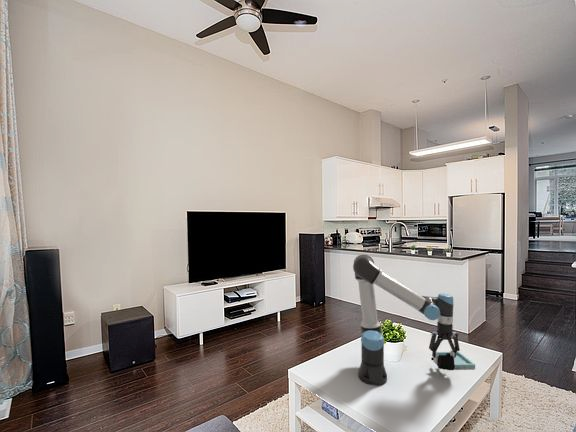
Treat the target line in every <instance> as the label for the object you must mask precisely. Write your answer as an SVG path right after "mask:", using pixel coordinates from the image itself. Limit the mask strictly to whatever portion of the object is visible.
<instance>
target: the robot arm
mask: <svg viewBox="0 0 576 432" xmlns="http://www.w3.org/2000/svg"><path fill="white" fill-rule="evenodd" d="M352 269H353V272H354V279H355V280H356V281H357V282H358V283H357V284H358V290H359V300H360V308H361V309H360V310H361V317H362V318H361V319H362V321H361V323H360V332H361V338H360V342H361V343H360V344H361V346H360V347H361V351H360V352H361V362H360V365H359V368H358V371H357V372H358V373H357V374H358V375H357V376H358V379H359V380H360V381H362V382H363V383H365V384H368V385H371V386H382V385H384V384H386V383H387V381H388V373H387V371H386V367H385V363H384V362H385V358H384V357H385V353H384V351H385V347H384V345H385V339H384V336H383V332H382V324H381V322H380V321H379V320H378V312H377V304H376V303H377V302H376V301H377V300H376V295H375V285H376V286H377V287H379V288H381V289H382V290H384V291H386V292H387V293H389V294H390V295H392V296H393V297H395V298H397V299H398V300H399V301H401V302H403V303H405V304H406V305H408V306H409V307H411V308H413V309H414V310H416V311H418V312H419V313H420V314H422V315H424V317H425V318H427V319H428V320H430V321H436V320H437V324H436V325H437V326H436V328H437V330H436V331H431V338H430V341H429V345H428V349H429V350H430V351H431V353H432V355H431V356H432V357H434V360H432V361H433V363H434V364H435V365H437V360H438V352H439V351H438V349H439V347H440V345H441V343H442V342H443V341H445V340H446V341H447V342H448V344H449V346H450V347H449V348H450V349H451V350H450V351H449V352H450V356H454V358H455V357H456V353H457V352H460V351H461V349H460V343H459V338H458V336H459V333H458V332H456V331H453V329H454V326H453V325H454V324H453V323H454V305H455V304H454V296H453V295H452V294H449V293H444V292H443V293H439V294H438V295H437V296H426V295H420V294H419V293H416V291H414V290H413V289H411V288H409V287H407V286H406V285H404V284H403V283H401V282H399V281H398V280H396V279H394V278H392V277H391V276H389V275H388V274H386V273H385V272H383V270H382V269H381V268H379V267H378V266H377V265H376V264H375V261H374V259H373V258H372V256H371V255H368V254H365V253H364V254H360V255H357V256H356V257H355V259H354V260H353V265H352Z"/></svg>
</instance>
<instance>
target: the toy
mask: <svg viewBox="0 0 576 432" xmlns="http://www.w3.org/2000/svg"><path fill="white" fill-rule="evenodd" d="M430 359H431V361H434V357H433V356H432V357H431V358H430ZM436 367H437V368H438V369H439V370H444V371H445V370H447V371H455V369H456V368H455V364H454V356H450V353H446V355H439V356H438V360H437V364H436Z"/></svg>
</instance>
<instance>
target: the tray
mask: <svg viewBox="0 0 576 432" xmlns="http://www.w3.org/2000/svg"><path fill="white" fill-rule="evenodd" d="M437 352H438V356H439V355H446V353H450V351H437ZM454 364H455V368H454V369H476V364H475V363H474V362H473V361H472V360H470V359H469V358H468V357H466V356H465V355H464V354H463V353H461V352H460V351H457V353H456V357H455V358H454Z"/></svg>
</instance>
